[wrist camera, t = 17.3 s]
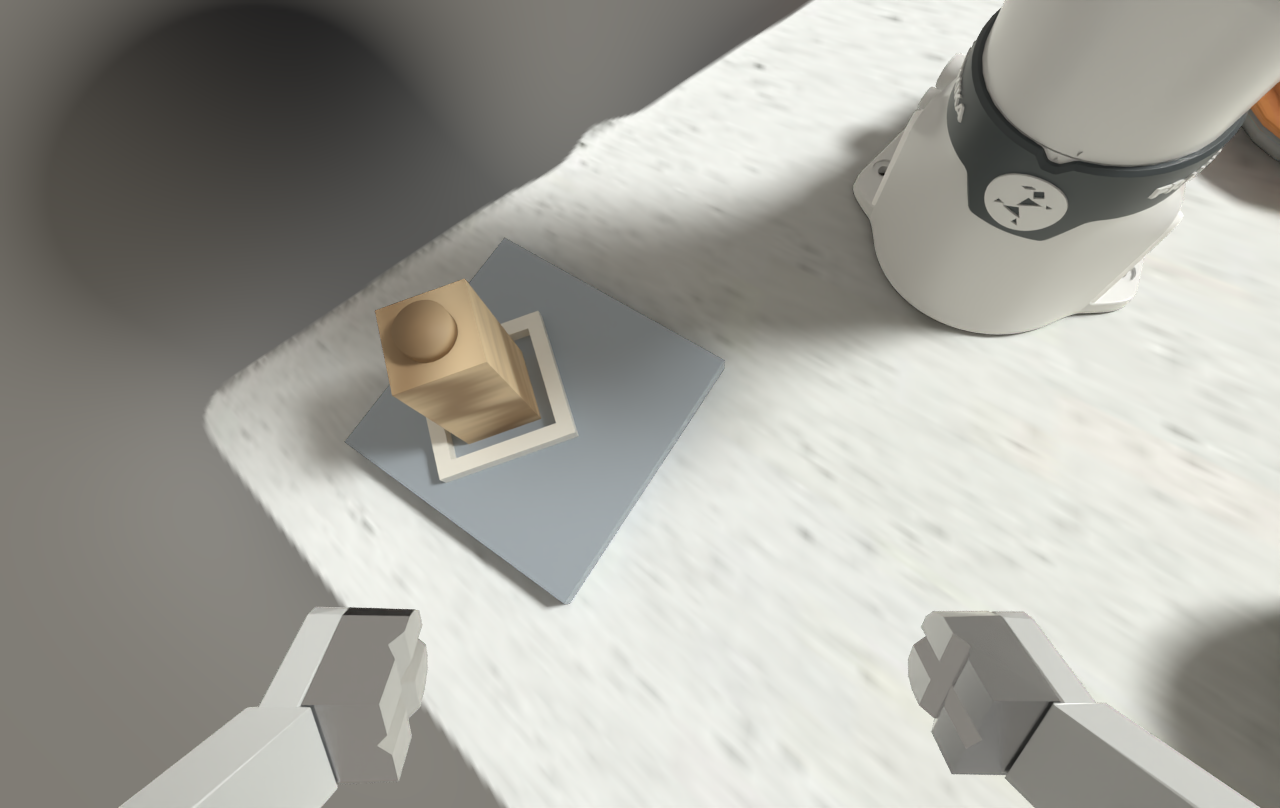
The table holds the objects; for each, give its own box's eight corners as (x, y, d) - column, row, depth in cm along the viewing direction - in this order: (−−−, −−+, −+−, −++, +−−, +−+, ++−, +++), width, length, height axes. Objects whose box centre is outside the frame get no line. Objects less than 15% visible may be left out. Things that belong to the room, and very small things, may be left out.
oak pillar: (522, 352, 41) (457, 268, 31) (541, 418, 40) (479, 354, 29) (452, 376, 41) (364, 301, 31) (469, 444, 40) (381, 389, 29)
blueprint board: (511, 248, 46) (504, 237, 44) (724, 368, 41) (724, 360, 39) (357, 447, 42) (344, 441, 41) (569, 603, 37) (564, 603, 36)
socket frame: (542, 317, 42) (538, 310, 41) (578, 436, 39) (575, 432, 38) (419, 360, 42) (412, 355, 41) (446, 482, 39) (439, 479, 38)
